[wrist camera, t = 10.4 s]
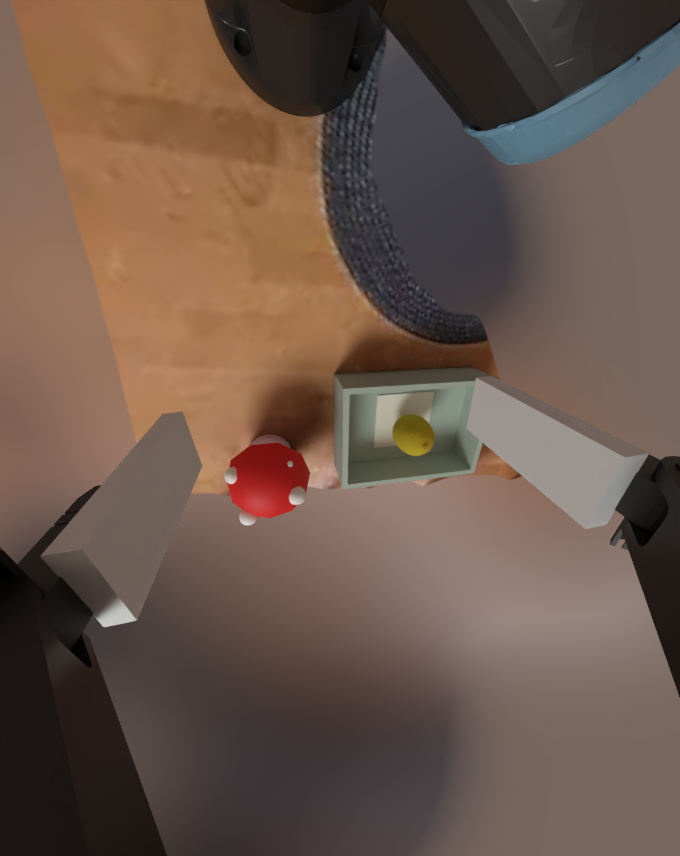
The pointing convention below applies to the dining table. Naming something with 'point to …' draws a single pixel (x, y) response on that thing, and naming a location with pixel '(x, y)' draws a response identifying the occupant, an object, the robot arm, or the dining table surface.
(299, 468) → the mushroom
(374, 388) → the crate
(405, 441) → the lemon
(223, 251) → the dining table surface
